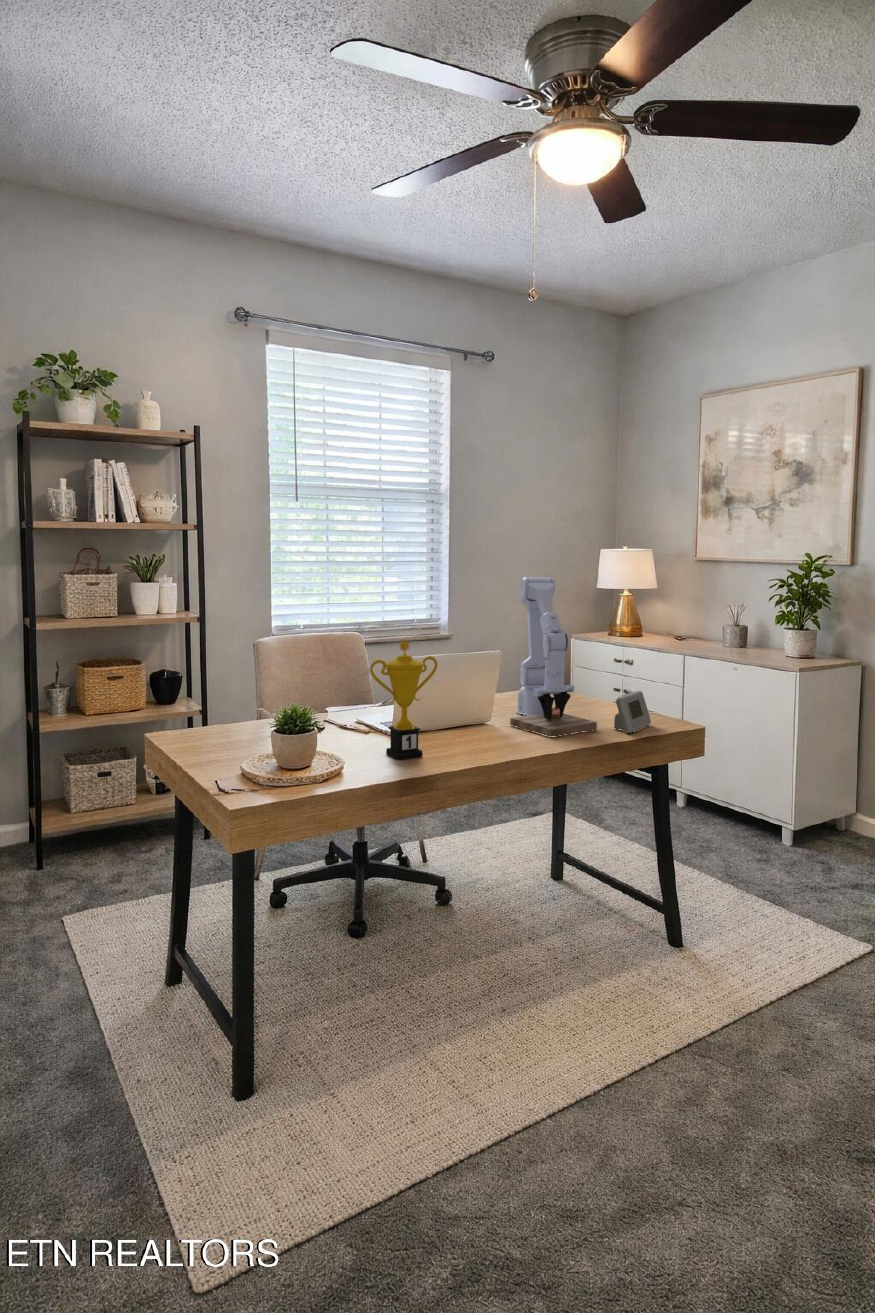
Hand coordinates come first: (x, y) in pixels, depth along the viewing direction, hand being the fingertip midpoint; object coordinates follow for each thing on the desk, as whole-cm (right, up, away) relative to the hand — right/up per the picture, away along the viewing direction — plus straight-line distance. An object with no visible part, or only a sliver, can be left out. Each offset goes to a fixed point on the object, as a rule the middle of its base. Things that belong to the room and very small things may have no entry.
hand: (553, 717), depth 239 cm
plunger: (0, -3, 0) cm, 3 cm away
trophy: (-43, -7, -32) cm, 54 cm away
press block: (0, -3, 0) cm, 3 cm away
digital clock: (+24, -4, +1) cm, 24 cm away
